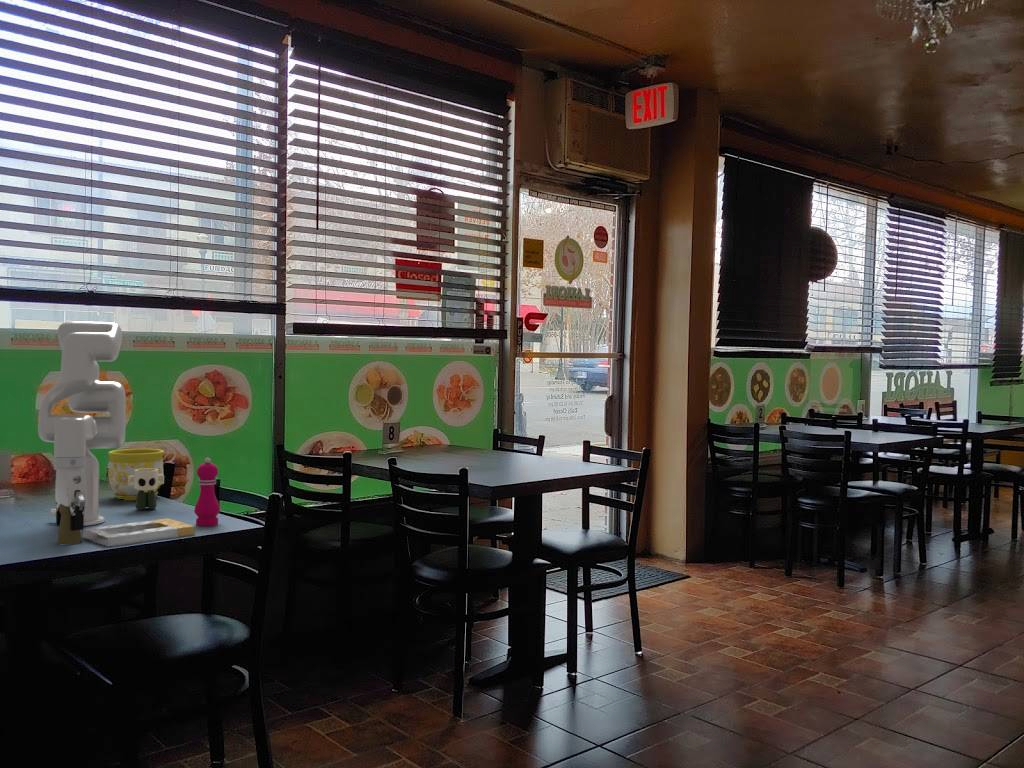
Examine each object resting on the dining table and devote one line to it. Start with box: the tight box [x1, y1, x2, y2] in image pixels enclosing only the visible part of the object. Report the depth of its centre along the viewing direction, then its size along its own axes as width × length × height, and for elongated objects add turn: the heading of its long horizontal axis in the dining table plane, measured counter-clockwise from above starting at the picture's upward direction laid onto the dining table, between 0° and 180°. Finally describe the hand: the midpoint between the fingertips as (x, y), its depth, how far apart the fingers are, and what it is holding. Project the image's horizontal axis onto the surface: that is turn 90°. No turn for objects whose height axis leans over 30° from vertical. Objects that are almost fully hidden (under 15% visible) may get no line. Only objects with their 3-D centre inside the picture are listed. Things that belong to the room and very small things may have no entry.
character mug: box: [128, 468, 165, 510], centre depth 286 cm, size 11×7×13 cm, turn 118°
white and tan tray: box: [82, 518, 196, 548], centre depth 245 cm, size 24×16×2 cm, turn 137°
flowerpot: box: [107, 448, 165, 501], centre depth 308 cm, size 18×18×16 cm
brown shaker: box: [56, 504, 83, 545], centre depth 235 cm, size 6×6×11 cm
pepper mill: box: [194, 457, 221, 527], centre depth 263 cm, size 7×7×20 cm
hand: (69, 527), depth 235 cm, fingers open, 9 cm apart
